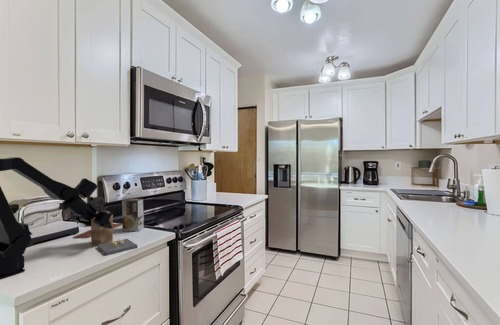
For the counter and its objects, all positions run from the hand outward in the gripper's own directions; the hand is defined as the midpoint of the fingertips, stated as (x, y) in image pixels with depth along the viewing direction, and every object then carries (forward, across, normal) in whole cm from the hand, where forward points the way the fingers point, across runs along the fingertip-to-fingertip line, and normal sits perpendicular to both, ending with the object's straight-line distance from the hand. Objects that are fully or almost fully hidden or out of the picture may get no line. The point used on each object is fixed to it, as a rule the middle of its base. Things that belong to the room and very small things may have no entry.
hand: (104, 226), depth 114 cm
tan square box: (+4, 0, +6) cm, 7 cm away
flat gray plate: (+3, -12, +7) cm, 14 cm away
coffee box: (+19, +5, -9) cm, 22 cm away
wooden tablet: (+13, +19, -2) cm, 24 cm away
